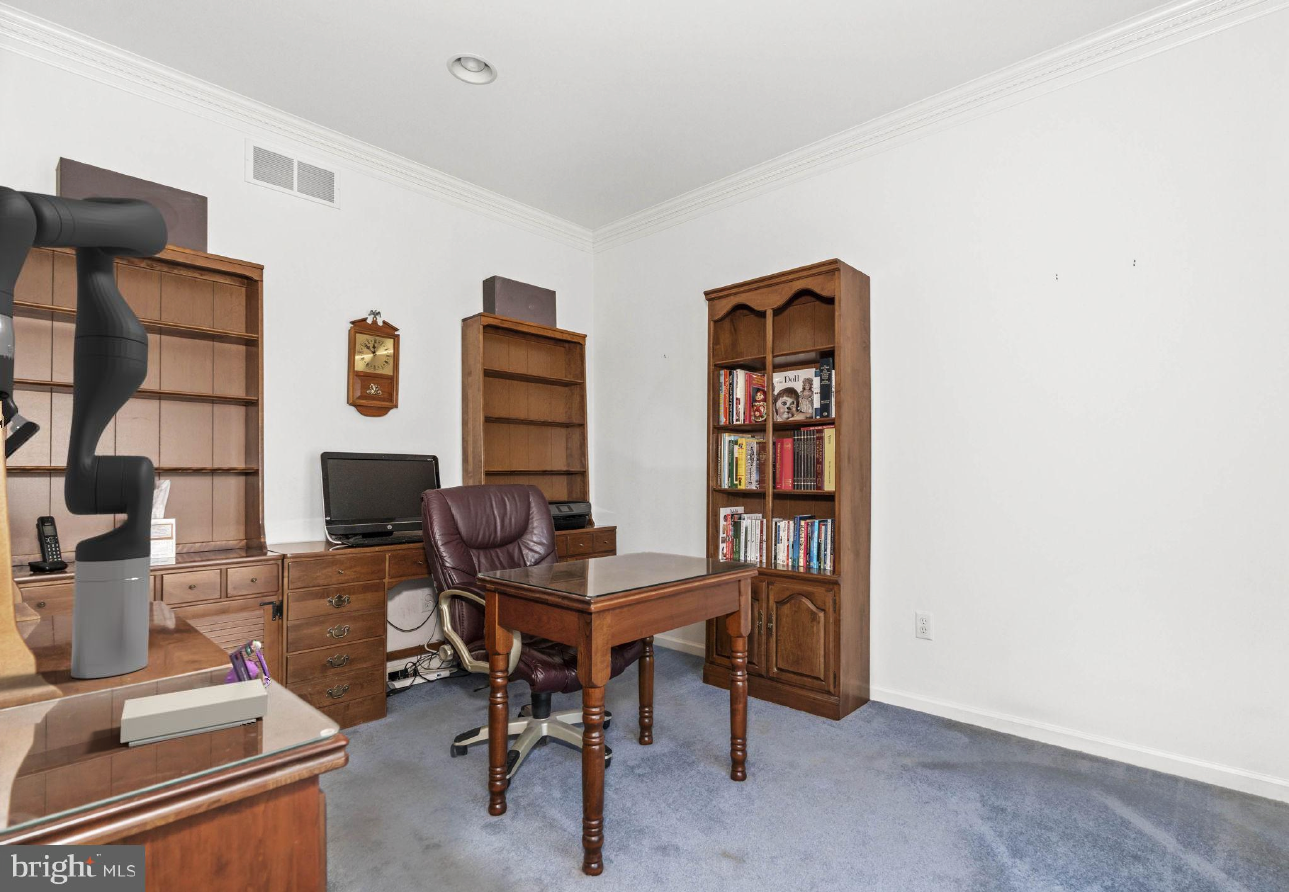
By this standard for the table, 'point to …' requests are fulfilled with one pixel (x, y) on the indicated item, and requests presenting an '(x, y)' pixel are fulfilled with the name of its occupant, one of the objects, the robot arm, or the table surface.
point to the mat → (190, 732)
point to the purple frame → (246, 664)
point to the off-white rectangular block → (192, 709)
